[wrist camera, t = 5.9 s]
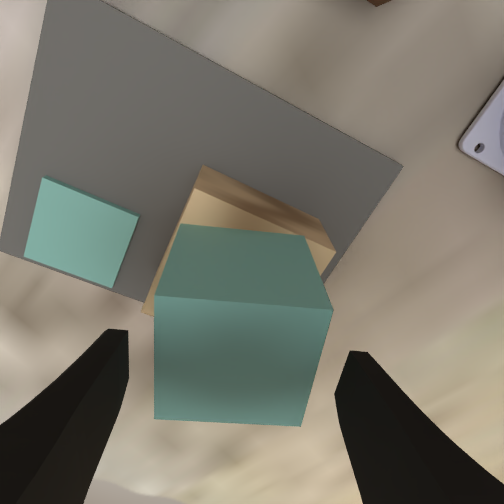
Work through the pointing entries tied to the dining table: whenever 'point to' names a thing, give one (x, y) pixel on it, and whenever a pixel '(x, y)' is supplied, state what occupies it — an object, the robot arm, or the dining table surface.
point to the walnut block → (378, 2)
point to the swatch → (79, 232)
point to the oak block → (244, 218)
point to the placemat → (171, 138)
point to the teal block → (237, 327)
